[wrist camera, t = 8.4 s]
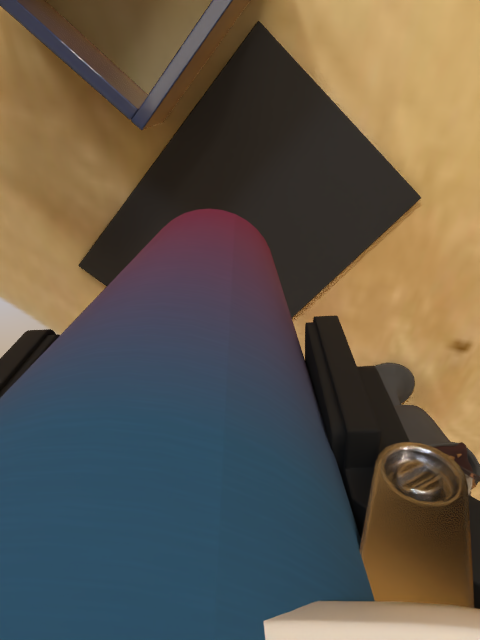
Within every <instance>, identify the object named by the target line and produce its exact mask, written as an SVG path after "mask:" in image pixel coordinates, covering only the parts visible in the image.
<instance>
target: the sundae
mask: <svg viewBox="0 0 480 640" xmlns="http://www.w3.org/2000/svg"><path fill="white" fill-rule="evenodd" d="M375 367H376V369H377V370H378V372H379V375H380V377H381V379H382V381H383V383H384V386H385V388H386V390H387V392H388V394H389V397H390V399H391V401H392V403H393V405H394V408H395V410H396V412H397V414H398V416H399V419H400V421H401V423H402V425H403V428H404V430H405V432H406V434H407V436H408V439H409V441H410V442H413V443H421V444H425V445H428V446H431V447H434V448H436V449H438V450H440V451H442V452H443V453H445V454H447V455H448V456H449V457H451V458H452V459H453V460H454V461H455V462H456V463H457V464H458V465H459V466H460V468H461V469H462V471H463V472H464V474H465V476H466V480H467V484H468V495H470V494H471V491H470V490H472V489H473V488H474V487H476V485H477V483H478V482H480V464H479V463H478V461H477V459H476V457H475V456H474V455H473V453H472V452H471V451H470V450H469V449H468V448H466V446H465V444H464V443H462V442H461V443H455V442H450V441H449V439H448V438H447V437H446V436H445V435H444V433H443V432H442V431H441V429H440V428H439V427H438V426H437V424H436V423H435V422H434V420H433V419H432V418H431V417H430V416H429V415H428V414H427V413H426V412H425V411H424V410H423V409H421V408H419V407H417V406H414V405H401V403H403V402H404V401H406V400H407V399H408V398H409V396H410V395H411V393H412V391H413V389H414V376H413V375H412V373H411V372H410V371H409V370H408V369H407V368H405V367H404V366H402V365H399V364H393V363H386V364H381V365H377V366H375ZM470 496H471V495H470Z"/></svg>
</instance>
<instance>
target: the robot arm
mask: <svg viewBox="0 0 480 640" xmlns="http://www.w3.org/2000/svg"><path fill="white" fill-rule="evenodd" d="M59 336H60V335H56V334H55V332H54V331H53V330H51V329H49V330H30V331H27V332H25V333H24V334H23V335H22V336H21V337H20V338H19V339H18V340H17V342H16V343H15V344H14V345H13V346H12V347H11V348H10V349H9V350H8V351H7V352H6V353H5V354H4V355H3V357H1V359H0V398H1V397H2V396H3V395H4V394H5V393H6V392H7V391H8V389H9V388H10V387H11V386H12V385H13V384H14V383H15V382H16V381H17V380H18V379H19V378H20V377H21V376H22V375H23V374H24V373H25V372H26V371H27V370H28V369H29V367H30V366H31V365H32V364H33V363H34V362H35V361H36V360H37V359H38V358H39V357H40V356H41V355H42V354H43V353H44V352H45V351H46V350H47V349H48V348H49V347H50V346H51V344H52V343H53V342H54V341H55V340H56V339H57V338H58V337H59ZM305 363H306V366H307V369H308V372H309V375H310V379H311V382H312V385H313V388H314V391H315V395H316V398H317V401H318V404H319V407H320V411H321V414H322V417H323V420H324V423H325V427H326V431H327V434H328V438H329V442H330V445H331V449H332V451H333V453H334V455H335V458H336V462H337V465H338V468H339V471H340V474H341V478H342V481H343V484H344V487H345V490H346V494H347V497H348V500H349V503H350V506H351V509H352V513H353V516H354V519H355V522H356V525H357V529H358V532H359V535H360V538H361V544H360V549H359V550H360V554H361V557H362V560H363V563H364V567H365V570H366V573H367V577H368V580H369V583H370V586H371V590H372V593H373V596H374V599H375V601H316V602H313V603H310V604H307V605H305V606H302V607H300V608H297V609H295V610H293V611H290V612H287V613H284V614H281V615H279V616H276V617H273V618H270V619H268V620H265V621H264V631H265V640H480V501H479V500H477V499H475V498H473V497H471V496H470V495H468V484H467V480H466V476H465V474H464V472H463V471H462V469H461V468H460V466H459V465H458V464H457V463H456V462H455V461H454V460H453V459H452V458H451V457H449V456H448V455H447V454H445V453H443V452H442V451H440V450H438V449H436V448H434V447H431V446H428V445H425V444H421V443H413V442H410V441H409V439H408V436H407V434H406V432H405V430H404V428H403V425H402V423H401V421H400V419H399V416H398V414H397V412H396V410H395V408H394V405H393V403H392V401H391V399H390V397H389V394H388V392H387V390H386V388H385V386H384V383H383V381H382V379H381V377H380V375H379V372H378V370H377V369H376V367H374V366H362V367H357V366H356V363H355V361H354V358H353V355H352V353H351V350H350V348H349V345H348V342H347V340H346V337H345V335H344V332H343V329H342V327H341V324H340V322H339V319H338V317H337V316H319V317H314V320H313V323H306V325H305Z"/></svg>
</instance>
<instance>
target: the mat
mask: <svg viewBox="0 0 480 640" xmlns="http://www.w3.org/2000/svg"><path fill="white" fill-rule="evenodd" d="M419 199H421V197H420V196H419V195H418V194H417V193H416V191H415V190H414V189H413V188H412V187H411V186H410V185H409V184H408V183H407V182H406V181H405V180H404V178H403V177H402V176H401V175H400V174H399V173H398V172H397V171H396V170H395V169H394V168H393V166H392V165H391V164H390V163H389V162H388V161H387V160H386V159H385V158H384V157H383V156H382V154H381V153H380V152H379V151H378V150H377V149H376V148H375V147H374V146H373V145H372V144H371V142H370V141H369V140H368V139H367V138H366V137H365V136H364V135H363V134H362V133H361V132H360V131H359V129H358V128H357V127H356V126H355V125H354V124H353V123H352V122H351V121H350V120H349V119H348V117H347V116H346V115H345V114H344V113H343V112H342V111H341V110H340V109H339V108H338V107H337V105H336V104H335V103H334V102H333V101H332V100H331V99H330V98H329V97H328V96H327V95H326V93H325V92H324V91H323V90H322V89H321V88H320V87H319V86H318V85H317V84H316V83H315V81H314V80H313V79H312V78H311V77H310V76H309V75H308V74H307V73H306V72H305V71H304V70H303V68H302V67H301V66H300V65H299V64H298V63H297V62H296V61H295V60H294V59H293V58H292V56H291V55H290V54H289V53H288V52H287V51H286V50H285V49H284V48H283V47H282V46H281V44H280V43H279V42H278V41H277V40H276V39H275V38H274V37H273V36H272V35H271V34H270V32H269V31H268V30H267V29H266V28H265V27H264V26H263V25H262V24H261V23H260V22H259V21H258V22H257V24H256V25H255V26H254V28H253V29H252V30H251V32H250V33H249V34H248V36H247V37H246V38H245V40H244V41H243V43H242V44H241V45H240V47H239V48H238V49H237V51H236V52H235V53H234V55H233V56H232V57H231V59H230V60H229V62H228V63H227V64H226V66H225V67H224V68H223V70H222V71H221V72H220V74H219V75H218V77H217V78H216V79H215V81H214V82H213V83H212V85H211V86H210V87H209V89H208V90H207V91H206V93H205V94H204V96H203V97H202V98H201V100H200V101H199V102H198V104H197V105H196V106H195V108H194V109H193V110H192V112H191V113H190V115H189V116H188V117H187V119H186V120H185V121H184V123H183V124H182V125H181V127H180V128H179V130H178V131H177V132H176V134H175V135H174V136H173V138H172V139H171V140H170V142H169V143H168V144H167V146H166V147H165V149H164V150H163V151H162V153H161V154H160V155H159V157H158V158H157V159H156V161H155V162H154V163H153V165H152V166H151V168H150V169H149V170H148V172H147V173H146V174H145V176H144V177H143V178H142V180H141V181H140V182H139V184H138V185H137V187H136V188H135V189H134V191H133V192H132V193H131V195H130V196H129V197H128V199H127V200H126V202H125V203H124V204H123V206H122V207H121V208H120V210H119V211H118V212H117V214H116V215H115V216H114V218H113V219H112V221H111V222H110V223H109V225H108V226H107V227H106V229H105V230H104V231H103V233H102V234H101V235H100V237H99V238H98V240H97V241H96V242H95V244H94V245H93V246H92V248H91V249H90V250H89V252H88V253H87V255H86V256H85V257H84V259H83V260H82V261H81V263H80V264H79V267H81V268H82V269H84V270H85V271H86V272H88V273H89V274H90V275H92V276H93V277H95V278H96V279H97V280H99V281H100V282H102V283H103V284H104V285H106V286H108V285H109V284H110V283H111V282H112V281H113V280H114V279H115V278H116V276H117V275H118V274H119V273H120V272H121V271H122V270H123V269H124V268H125V267H126V266H127V265H128V264H129V263H130V262H131V261H132V260H133V259H134V258H135V257H136V256H137V255H138V253H139V252H140V251H141V250H142V249H143V248H144V247H145V246H146V245H147V244H148V243H149V242H150V241H151V240H152V239H153V238H154V237H155V236H156V235H157V234H158V233H159V232H160V230H161V229H162V228H163V227H164V226H166V225H167V224H168V223H169V222H170V221H172V220H173V219H174V218H176V217H178V216H180V215H182V214H184V213H187V212H190V211H194V210H198V209H218V210H224V211H227V212H230V213H233V214H236V215H238V216H240V217H242V218H243V219H245V220H247V221H248V222H249V223H250V224H252V225H253V226H254V227H255V228H256V229H257V230H258V231H259V232H260V234H261V235H262V236H263V237H264V239H265V241H266V243H267V245H268V247H269V248H270V251H271V254H272V257H273V261H274V264H275V267H276V270H277V273H278V277H279V280H280V283H281V286H282V289H283V293H284V296H285V299H286V302H287V305H288V309H289V312H290V315H291V318H292V317H293V316H294V315H295V314H296V313H297V312H299V311H300V310H301V309H302V308H303V307H304V306H305V305H306V304H307V303H308V302H309V301H310V300H312V299H313V298H314V297H315V296H316V295H317V294H318V293H319V292H320V291H321V290H322V289H323V288H324V287H326V286H327V285H328V284H329V283H330V282H331V281H332V280H333V279H334V278H335V277H336V276H337V275H339V274H340V273H341V272H342V271H343V270H344V269H345V268H346V267H347V266H348V265H349V264H350V263H351V262H353V261H354V260H355V259H356V258H357V257H358V256H359V255H360V254H361V253H362V252H363V251H364V250H365V249H367V248H368V247H369V246H370V245H371V244H372V243H373V242H374V241H375V240H376V239H377V238H378V237H380V236H381V235H382V234H383V233H384V232H385V231H386V230H387V229H388V228H389V227H390V226H391V225H392V224H394V223H395V222H396V221H397V220H398V219H399V218H400V217H401V216H402V215H403V214H404V213H405V212H406V211H408V210H409V209H410V208H411V207H412V206H413V205H414V204H415V203H416V202H417V201H418V200H419Z"/></svg>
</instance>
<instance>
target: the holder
mask: <svg viewBox="0 0 480 640" xmlns="http://www.w3.org/2000/svg"><path fill="white" fill-rule="evenodd" d="M249 2H250V0H212V2H211V3H210V5H209V6H208V8H207V9H206V11H205V12H204V14H203V15H202V17H201V18H200V19H199V21H198V22H197V24H196V25H195V27H194V28H193V30H192V31H191V33H190V34H189V36H188V37H187V39H186V40H185V42H184V43H183V45H182V46H181V47H180V49H179V50H178V52H177V53H176V55H175V56H174V58H173V59H172V61H171V62H170V64H169V65H168V67H167V68H166V70H165V71H164V73H163V74H162V76H161V77H160V78H159V80H158V81H157V83H156V84H155V86H154V87H153V89H152V90H151V92H150V93H149V95H148V94H147V93H146V92H144V91H143V90H142V89H141V88H140V87H139V86H138V85H137V84H136V83H135V82H134V81H132V80H131V79H130V78H129V77H128V76H127V75H126V74H125V73H124V72H123V71H122V70H121V69H119V68H118V67H117V66H116V65H115V64H114V63H113V62H112V61H111V60H110V59H109V58H107V57H106V56H105V55H104V54H103V53H102V52H101V51H100V50H99V49H98V48H97V47H95V46H94V45H93V44H92V43H91V42H90V41H89V40H88V39H87V38H86V37H85V36H83V35H82V34H81V33H80V32H79V31H78V30H77V29H76V28H75V27H74V26H73V25H71V24H70V23H69V22H68V21H67V20H66V19H65V18H64V17H63V16H62V15H61V14H59V13H58V12H57V11H56V10H55V9H54V8H53V7H52V6H51V5H50V4H49V3H47V2H46V1H45V0H0V6H1V7H2V8H3V9H4V10H6V11H7V12H8V13H9V14H10V15H11V16H12V17H14V18H15V19H16V20H17V21H18V22H19V23H20V24H21V25H23V26H24V27H25V28H26V29H27V30H28V31H29V32H31V33H32V34H33V35H34V36H35V37H36V38H37V39H38V40H40V41H41V42H42V43H43V44H44V45H45V46H46V47H48V48H49V49H50V50H51V51H52V52H53V53H54V54H56V55H57V56H58V57H59V58H60V59H61V60H62V61H63V62H65V63H66V64H67V65H68V66H69V67H70V68H71V69H73V70H74V71H75V72H76V73H77V74H78V75H79V76H80V77H82V78H83V79H84V80H85V81H86V82H87V83H88V84H90V85H91V86H92V87H93V88H94V89H95V90H96V91H98V92H99V93H100V94H101V95H102V96H103V97H104V98H105V99H107V100H108V101H109V102H110V103H111V104H112V105H113V106H115V107H116V108H117V109H118V110H119V111H120V112H121V113H122V114H124V115H125V116H126V117H127V118H128V119H129V120H131V121H132V122H133V123H134V124H135V125H136V126H137V127H138V128H139V129H141V130H144V129H147V128H149V127H152V126H155V125H158V124H161V123H163V122H164V121H165V119H166V118H167V117H168V115H169V114H170V112H171V111H172V110H173V108H174V107H175V105H176V104H177V103H178V101H179V100H180V98H181V97H182V96H183V94H184V93H185V91H186V90H187V89H188V87H189V86H190V84H191V83H192V82H193V80H194V79H195V77H196V76H197V75H198V73H199V72H200V70H201V69H202V68H203V66H204V65H205V63H206V62H207V61H208V59H209V58H210V56H211V55H212V54H213V52H214V51H215V49H216V48H217V47H218V45H219V44H220V42H221V41H222V40H223V38H224V37H225V35H226V34H227V33H228V31H229V30H230V28H231V27H232V26H233V24H234V23H235V21H236V20H237V19H238V17H239V16H240V14H241V13H242V12H243V10H244V9H245V7H246V6H247V5H248V3H249Z"/></svg>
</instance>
